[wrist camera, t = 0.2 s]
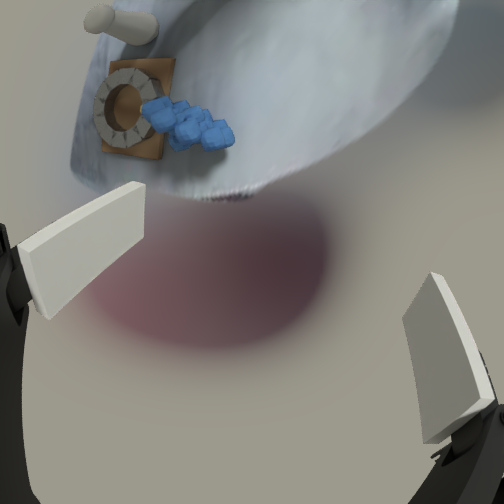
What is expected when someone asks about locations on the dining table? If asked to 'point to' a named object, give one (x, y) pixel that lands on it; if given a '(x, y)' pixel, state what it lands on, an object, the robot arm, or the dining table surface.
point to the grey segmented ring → (106, 100)
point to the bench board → (139, 105)
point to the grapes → (187, 125)
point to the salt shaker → (122, 24)
